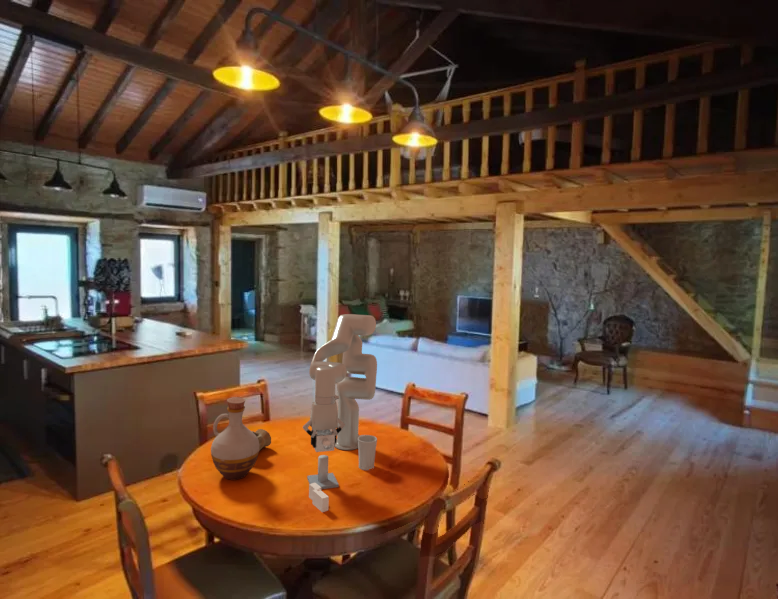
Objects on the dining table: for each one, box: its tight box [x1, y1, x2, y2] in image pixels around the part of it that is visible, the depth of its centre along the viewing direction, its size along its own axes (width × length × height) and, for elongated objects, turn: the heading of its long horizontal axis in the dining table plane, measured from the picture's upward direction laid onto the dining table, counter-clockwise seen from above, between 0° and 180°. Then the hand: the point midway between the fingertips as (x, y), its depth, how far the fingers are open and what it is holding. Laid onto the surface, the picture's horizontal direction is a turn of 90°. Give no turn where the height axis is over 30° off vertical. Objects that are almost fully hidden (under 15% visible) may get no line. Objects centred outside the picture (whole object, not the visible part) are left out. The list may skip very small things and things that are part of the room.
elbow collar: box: [314, 429, 335, 453], centre depth 178 cm, size 10×7×6 cm, turn 19°
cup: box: [357, 434, 378, 471], centre depth 196 cm, size 8×8×12 cm
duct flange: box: [306, 454, 340, 490], centre depth 181 cm, size 10×10×10 cm
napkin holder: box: [308, 483, 330, 513], centre depth 166 cm, size 15×11×6 cm
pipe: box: [251, 428, 272, 451], centre depth 205 cm, size 9×16×10 cm, turn 169°
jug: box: [210, 396, 260, 481], centre depth 184 cm, size 20×18×30 cm
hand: (323, 445), depth 180 cm, fingers closed on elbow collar, 6 cm apart
